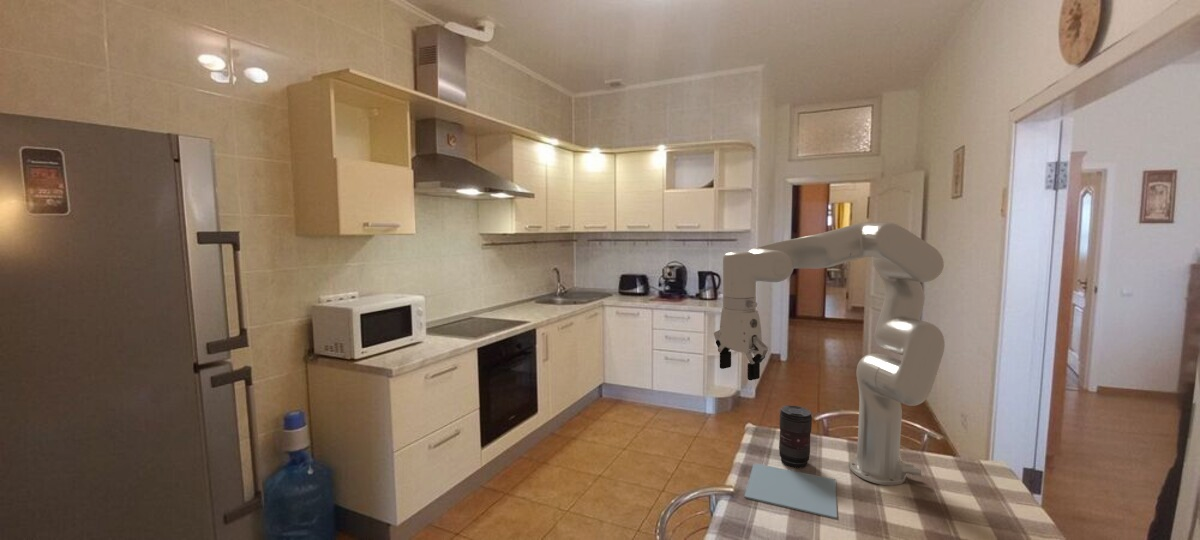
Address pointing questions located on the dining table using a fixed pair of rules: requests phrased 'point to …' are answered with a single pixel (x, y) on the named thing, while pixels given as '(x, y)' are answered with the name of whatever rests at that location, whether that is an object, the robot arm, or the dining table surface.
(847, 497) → the dining table surface
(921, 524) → the dining table surface
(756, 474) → the blue mat
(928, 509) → the dining table surface
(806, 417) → the camera lens
